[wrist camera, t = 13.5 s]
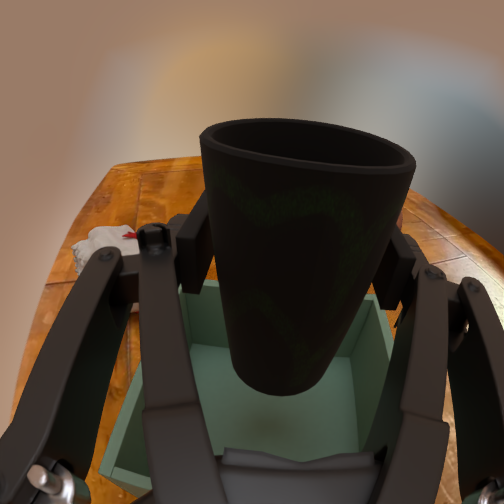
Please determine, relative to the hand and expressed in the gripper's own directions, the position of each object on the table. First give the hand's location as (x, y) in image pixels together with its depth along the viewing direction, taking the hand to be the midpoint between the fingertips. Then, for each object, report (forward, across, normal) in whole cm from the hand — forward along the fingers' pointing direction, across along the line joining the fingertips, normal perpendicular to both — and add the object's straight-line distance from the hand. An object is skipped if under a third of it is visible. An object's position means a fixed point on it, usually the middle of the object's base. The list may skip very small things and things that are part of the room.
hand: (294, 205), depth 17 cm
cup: (-5, 0, -7) cm, 9 cm away
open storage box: (-5, 0, -18) cm, 19 cm away
